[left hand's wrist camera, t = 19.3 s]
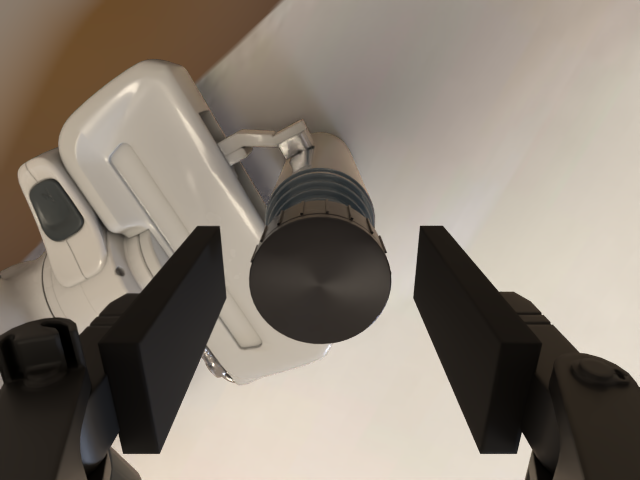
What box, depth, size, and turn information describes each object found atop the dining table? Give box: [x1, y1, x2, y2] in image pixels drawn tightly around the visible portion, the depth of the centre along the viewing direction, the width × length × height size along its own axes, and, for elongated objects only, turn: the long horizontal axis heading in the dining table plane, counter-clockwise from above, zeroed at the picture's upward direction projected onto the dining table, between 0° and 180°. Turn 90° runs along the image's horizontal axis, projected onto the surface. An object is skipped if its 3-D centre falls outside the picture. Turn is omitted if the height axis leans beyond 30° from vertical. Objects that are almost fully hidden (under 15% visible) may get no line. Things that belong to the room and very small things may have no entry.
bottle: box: [265, 132, 375, 229], centre depth 22 cm, size 5×5×18 cm
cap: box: [249, 199, 391, 344], centre depth 13 cm, size 4×4×2 cm
